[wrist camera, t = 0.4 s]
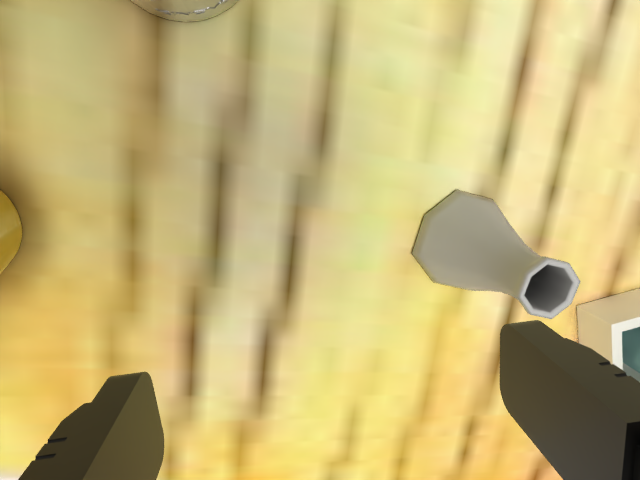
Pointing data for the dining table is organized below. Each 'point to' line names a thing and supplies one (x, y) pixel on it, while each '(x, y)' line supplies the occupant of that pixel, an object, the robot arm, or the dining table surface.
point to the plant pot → (8, 231)
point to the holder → (609, 326)
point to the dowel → (631, 348)
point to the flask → (490, 256)
